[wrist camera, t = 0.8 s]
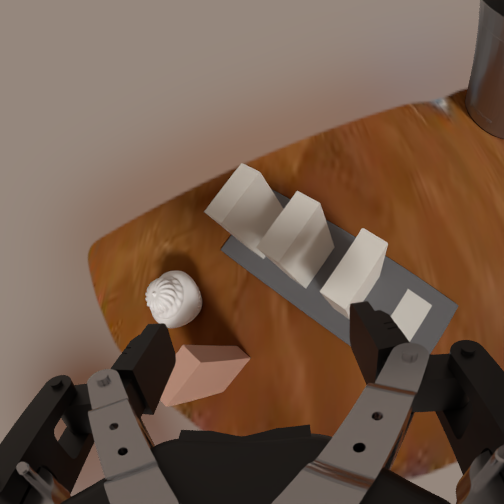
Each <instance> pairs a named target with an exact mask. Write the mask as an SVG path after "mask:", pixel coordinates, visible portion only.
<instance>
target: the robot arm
mask: <svg viewBox="0 0 504 504" xmlns="http://www.w3.org/2000/svg"><path fill="white" fill-rule="evenodd" d="M465 104H466V108H467V111H468V112H469V114H470V116H471V117H472V118H473V120H474V121H475V122H476V123H477V124H478V125H479V126H480V127H481V128H483V129H484V130H485V131H487V132H488V133H490V134H492V135H494V136H496V137H499V138H502V139H504V0H480V11H479V25H478V33H477V41H476V48H475V54H474V60H473V66H472V72H471V76H470V81H469V86H468V90H467V95H466V99H465ZM350 344H351V348H352V351H353V353H354V355H355V358H356V360H357V363H358V365H359V367H360V370H361V372H362V375H363V377H364V379H365V382H366V384H367V386H366V387H365V389H364V391H363V392H362V394H361V395H360V397H359V399H358V400H357V402H356V403H355V405H354V407H353V408H352V410H351V411H350V413H349V414H348V416H347V417H346V419H345V420H344V422H343V423H342V425H341V426H340V427H339V429H338V430H337V432H336V433H335V435H334V436H333V437H330V436H326V435H321V434H311V431H310V425H303V426H295V427H286V428H276V429H273V430H269V431H265V432H261V433H257V434H253V435H249V436H242V437H241V436H235V435H229V434H224V433H219V432H214V431H193V430H191V431H190V430H181V433H180V436H179V439H174V440H169V441H166V442H163V443H161V444H158V445H156V446H155V445H154V443H153V441H152V439H151V437H150V435H149V433H148V431H147V429H146V427H145V425H144V423H143V421H142V419H141V416H142V414H150V415H153V414H154V412H155V410H156V408H157V405H158V403H159V401H160V398H161V396H162V394H163V392H164V389H165V387H166V385H167V382H168V380H169V378H170V376H171V373H172V371H173V369H174V367H175V363H176V355H175V351H174V348H173V345H172V342H171V338H170V335H169V332H168V329H167V326H166V325H165V324H164V323H161V324H148V325H147V326H146V328H145V329H144V330H143V332H142V333H141V335H138V336H137V337H135V338H134V339H133V340H131V341H130V343H129V344H128V345H127V347H126V349H124V351H123V352H122V354H121V355H120V356H119V358H118V359H117V361H116V362H115V363H114V365H113V366H112V368H111V369H105V370H101V371H98V372H96V373H95V374H93V375H92V376H91V377H90V378H89V379H88V382H87V384H81V385H74V384H73V382H72V381H71V379H70V377H68V376H66V375H60V376H56V377H54V378H52V379H50V380H49V381H48V382H47V383H46V384H45V385H44V387H43V388H42V389H41V390H40V391H39V393H38V394H37V395H36V396H35V398H34V399H33V400H32V402H31V403H30V404H29V405H28V407H27V408H26V409H25V411H24V412H23V413H22V415H21V416H20V417H19V419H18V420H17V422H16V423H15V424H14V426H13V427H12V428H11V430H10V431H9V433H8V434H7V435H6V437H5V438H4V440H3V441H2V442H1V444H0V504H450V503H449V502H448V501H447V500H445V499H443V498H441V497H439V496H437V495H435V494H432V493H431V492H429V491H427V490H425V489H423V488H421V487H419V486H417V485H416V484H414V483H412V482H410V481H408V480H406V479H405V478H403V477H401V476H399V475H397V474H396V473H394V472H392V471H390V469H391V467H392V465H393V463H394V460H395V458H396V456H397V453H398V451H399V449H400V447H401V444H402V442H403V440H404V438H405V435H406V433H407V431H408V428H409V426H410V423H411V421H412V418H413V416H414V413H415V412H428V411H435V412H436V414H437V416H438V418H439V420H440V422H441V425H442V427H443V429H444V431H445V433H446V435H447V438H448V440H449V442H450V445H451V447H452V449H453V451H454V454H455V456H456V459H457V461H458V463H459V466H460V468H461V471H462V473H463V476H462V478H461V479H460V480H459V482H458V484H457V487H456V498H457V502H456V504H504V371H503V370H502V369H501V368H500V366H499V365H498V364H497V363H496V362H495V360H494V359H493V358H492V357H491V356H490V355H489V353H488V352H487V351H486V350H485V349H484V348H483V347H482V346H481V345H480V344H479V343H477V342H474V341H471V340H462V341H458V342H456V343H454V344H453V345H452V346H451V349H450V353H449V354H439V355H430V354H429V352H428V350H427V349H426V348H425V347H424V346H422V345H420V344H416V343H410V342H409V340H408V339H407V338H406V336H405V335H404V334H403V332H402V331H401V330H400V328H399V327H398V326H397V324H396V323H395V322H394V320H393V319H392V318H391V316H390V315H389V314H387V313H385V312H384V311H382V310H377V311H375V310H374V309H373V308H372V306H371V305H370V303H369V302H368V301H363V302H357V303H351V304H350ZM60 418H62V420H63V421H64V423H65V424H66V426H67V428H66V429H65V431H64V432H63V434H62V436H61V437H60V439H59V441H57V440H56V438H55V436H54V428H55V426H56V425H57V423H58V421H59V420H60ZM94 442H95V445H96V449H97V453H98V456H99V460H100V463H101V466H102V469H103V472H104V476H105V478H104V479H102V480H100V481H98V482H97V483H95V484H93V485H92V486H90V487H88V488H86V489H85V490H83V491H81V492H79V493H77V494H76V495H74V496H72V497H71V496H70V494H71V492H72V489H73V487H74V485H75V483H76V480H77V478H78V476H79V474H80V471H81V469H82V467H83V465H84V463H85V460H86V458H87V456H88V454H89V452H90V450H91V448H92V446H93V444H94Z"/></svg>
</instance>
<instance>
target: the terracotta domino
mask: <svg viewBox="0 0 504 504" xmlns="http://www.w3.org/2000/svg"><path fill="white" fill-rule="evenodd" d="M249 359H250V357H249V356H248V355H247V354H246V353H244V352H243V351H242V350H241V349H240V348H239V347H238V346H207V345H182V347H181V348H180V350H179V351H178V352H177V354H176V363H175V367H174V369H173V371H172V373H171V376H170V378H169V380H168V382H167V385H166V387H165V389H164V392H163V394H162V396H161V398H160V400H161V401H162V402H163V403H164V405H165V406H166V407H168V406H172V405H176V404H180V403H184V402H188V401H192V400H196V399H200V398H203V397H207V396H211V395H214V394H218V393H221V392H223V391H224V390H225V389H226V388H227V386H228V385H229V384H230V383H231V382H232V380H233V379H234V378H235V377H236V376H237V374H238V373H239V372H240V371H241V369H242V368H243V367H244V366H245V364H246V363H247V362H248V361H249Z"/></svg>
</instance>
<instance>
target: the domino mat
mask: <svg viewBox="0 0 504 504" xmlns="http://www.w3.org/2000/svg"><path fill="white" fill-rule="evenodd" d="M271 190H272V189H271ZM272 191H273V193H274V194H275V196H276V198H277V199H278V201H279V202H280V204H281V206H282V207H283V209H284V208H285V207H286V205H287V204H288V203H289V201H290V200H291V199H289V198H287V197H285V196H283V195H281V194H280V193H278V192H276V191H274V190H272ZM326 222H327V225H328V228H329V231H330V235H331V238H332V241H333V244H334V249H333V250H332V252H331V253H330V255H329V256H328V258H327V259H326V261H325V262H324V264H323V265H322V266H321V268H320V269H319V271H318V272H317V274H316V275H315V276H314V278H313V279H312V281H311V282H310V283H309V285H308V286H307V288H304V287H303V286H301V285H300V284H299V283H297V282H296V281H294V280H293V279H291V278H290V277H289V276H288V275H287V274H286V273H284V272H283V271H282V270H281V269H280V268H279V267H278V266H277V265H275V264H274V263H273V262H272V261H271V260H270V259H269V258H268V257H266V256H265V258H264V259H263V258H261V257H260V256H258V255H257V254H256V253H254V252H253V251H251V250H250V249H249V248H247V247H246V246H245V245H244V244H243V243H241V242H240V241H239V240H238V239H236V238H235V237H234V236H233V235H231V236H230V238H229V239H228V240H227V242H226V243H225V245H224V246H223V247H222V249H221V251H223V252H224V253H225V254H227V255H228V256H229V257H231V258H232V259H233V260H235V261H236V262H237V263H239V264H240V265H241V266H243V267H244V268H245V269H246V270H248V271H249V272H250V273H252V274H253V275H254V276H256V277H257V278H259V279H260V280H261V281H263V282H264V283H265V284H267V285H268V286H269V287H271V288H272V289H273V290H275V291H276V292H277V293H279V294H280V295H281V296H283V297H284V298H285V299H287V300H288V301H289V302H291V303H292V304H294V305H295V306H296V307H298V308H299V309H300V310H302V311H303V312H304V313H306V314H307V315H308V316H310V317H311V318H313V319H314V320H315V321H317V322H318V323H319V324H321V325H322V326H324V327H325V328H326V329H328V330H329V331H330V332H332V333H333V334H335V335H336V336H337V337H339V338H340V339H341V340H343V341H344V342H346V343H347V344H348V345H350V346H351V344H350V320H349V319H348V318H347V317H345V316H344V315H342V314H341V313H339V312H338V311H337V310H335V309H334V308H333V307H332V306H331V305H330V303H329V302H328V301H327V300H326V299H325V297H324V296H323V295H322V294H321V293H320V290H321V289H322V287H323V286H324V285H325V283H326V282H327V280H328V279H329V277H330V276H331V274H332V273H333V272H334V270H335V269H336V267H337V266H338V264H339V263H340V261H341V260H342V258H343V257H344V255H345V254H346V252H347V251H348V249H349V248H350V246H351V245H352V243H353V242H354V240H355V239H356V237H354V236H353V235H351V234H349V233H348V232H346V231H344V230H343V229H341V228H339V227H338V226H336V225H334V224H333V223H331V222H329V221H327V220H326ZM364 301H368V302H369V303H370V305H371V306H372V308H373V309H374V310H375V311H377V310H382V311H384V312H385V313H387V314H389V315H390V316H391V318H392V319H393V320H394V322H395V323H396V324H397V326H398V327H399V328H400V330H401V331H402V332H403V334H404V335H405V336H406V338H407V339H408V340H409V342H410V343H416V344H420V345H422V346H424V347H425V348H426V349H427V350H428V352H429V354H430V353H431V352H432V350H433V349H434V347H435V345H436V344H437V342H438V341H439V339H440V337H441V336H442V334H443V332H444V331H445V329H446V327H447V326H448V324H449V322H450V320H451V318H452V317H453V315H454V313H455V311H456V309H457V307H458V305H457V304H456V303H454V302H453V301H451V300H450V299H449V298H447V297H446V296H444V295H443V294H441V293H440V292H439V291H437V290H436V289H434V288H433V287H431V286H430V285H429V284H427V283H426V282H424V281H423V280H421V279H420V278H418V277H417V276H415V275H414V274H412V273H411V272H409V271H408V270H406V269H405V268H403V267H402V266H400V265H399V264H397V263H396V262H394V261H392V260H391V259H389V258H388V257H386V256H385V258H384V262H383V266H382V269H381V273H380V277H379V278H378V280H377V281H376V283H375V284H374V286H373V288H372V289H371V291H370V292H369V294H368V295H367V297H366V298H365V300H364Z"/></svg>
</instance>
